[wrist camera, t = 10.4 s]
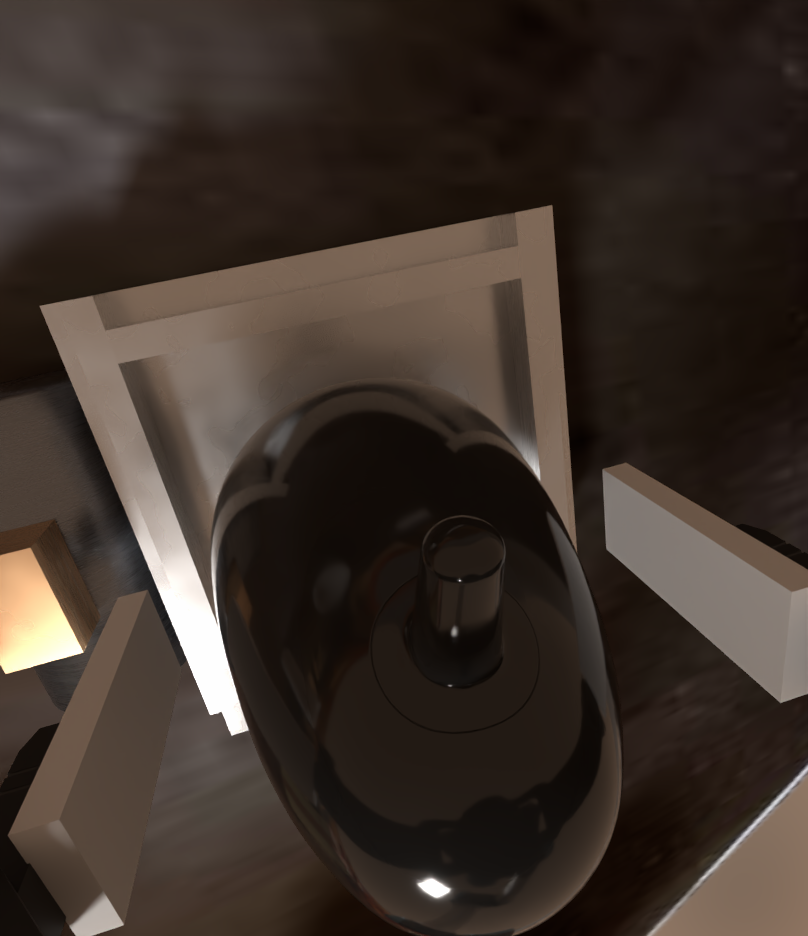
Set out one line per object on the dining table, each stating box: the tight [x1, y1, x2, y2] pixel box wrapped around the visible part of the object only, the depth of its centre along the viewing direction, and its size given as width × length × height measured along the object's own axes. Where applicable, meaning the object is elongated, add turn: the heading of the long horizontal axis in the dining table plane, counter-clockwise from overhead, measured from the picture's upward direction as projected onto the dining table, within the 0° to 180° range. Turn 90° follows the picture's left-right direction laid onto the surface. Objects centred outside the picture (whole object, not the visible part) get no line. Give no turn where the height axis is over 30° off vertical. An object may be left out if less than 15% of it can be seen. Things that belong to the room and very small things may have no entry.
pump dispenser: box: [210, 377, 624, 936], centre depth 15 cm, size 10×10×15 cm
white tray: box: [0, 205, 577, 735], centre depth 22 cm, size 17×23×8 cm
